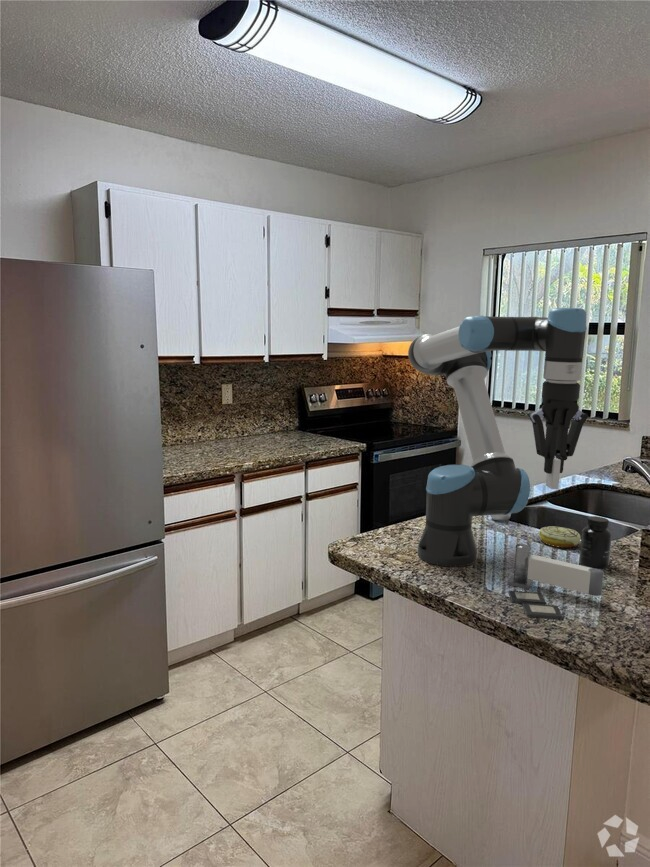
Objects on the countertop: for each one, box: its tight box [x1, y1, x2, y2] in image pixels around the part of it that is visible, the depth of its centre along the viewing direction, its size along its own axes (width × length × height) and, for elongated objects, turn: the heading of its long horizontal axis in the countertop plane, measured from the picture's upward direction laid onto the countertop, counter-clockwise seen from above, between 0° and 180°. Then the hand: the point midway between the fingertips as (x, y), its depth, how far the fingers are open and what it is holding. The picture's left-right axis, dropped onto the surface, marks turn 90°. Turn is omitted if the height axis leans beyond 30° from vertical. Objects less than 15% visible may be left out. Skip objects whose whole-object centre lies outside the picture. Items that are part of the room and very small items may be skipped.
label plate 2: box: [522, 603, 564, 620], centre depth 126 cm, size 7×5×1 cm
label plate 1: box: [508, 590, 547, 605], centre depth 132 cm, size 7×5×1 cm
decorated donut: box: [538, 525, 582, 548], centre depth 168 cm, size 10×11×4 cm
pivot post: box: [506, 543, 534, 590], centre depth 140 cm, size 5×5×9 cm
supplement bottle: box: [579, 515, 613, 570], centre depth 151 cm, size 7×7×12 cm
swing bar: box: [527, 554, 605, 597], centre depth 134 cm, size 16×3×5 cm, turn 54°
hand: (551, 487), depth 134 cm, fingers closed
